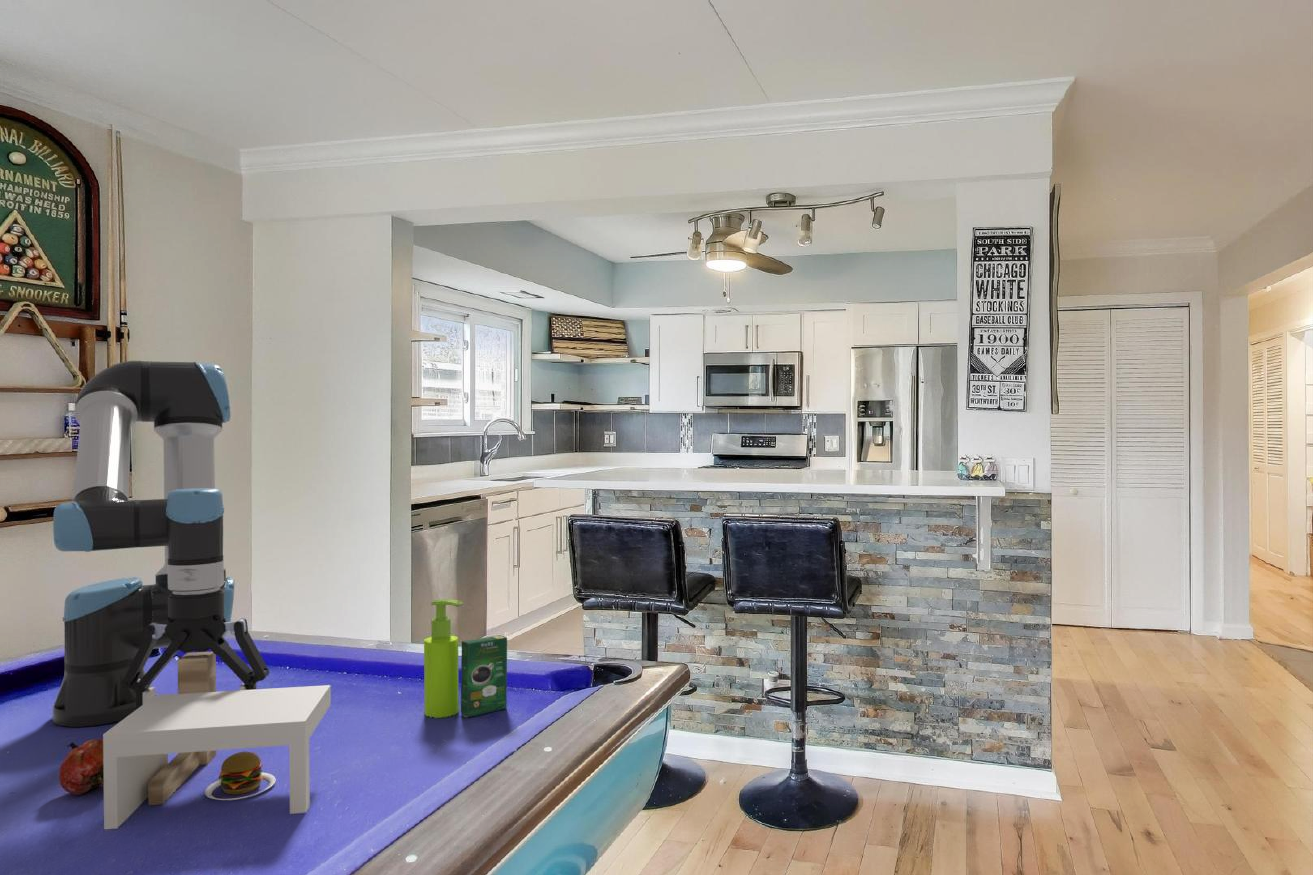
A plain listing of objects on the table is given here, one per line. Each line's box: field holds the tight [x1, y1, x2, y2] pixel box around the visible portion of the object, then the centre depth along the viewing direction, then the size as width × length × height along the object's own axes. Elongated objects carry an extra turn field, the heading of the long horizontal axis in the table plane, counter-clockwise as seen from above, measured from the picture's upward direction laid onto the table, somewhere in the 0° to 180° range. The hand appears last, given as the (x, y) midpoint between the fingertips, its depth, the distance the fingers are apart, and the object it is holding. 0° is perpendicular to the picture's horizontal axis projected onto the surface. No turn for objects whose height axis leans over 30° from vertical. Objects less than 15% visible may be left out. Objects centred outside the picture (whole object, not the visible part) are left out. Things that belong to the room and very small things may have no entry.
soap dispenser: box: [423, 598, 465, 719], centre depth 148 cm, size 6×7×20 cm
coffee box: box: [460, 635, 508, 718], centre depth 148 cm, size 8×3×13 cm, turn 129°
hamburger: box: [204, 750, 277, 801], centre depth 117 cm, size 12×12×6 cm
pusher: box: [147, 651, 217, 806], centre depth 120 cm, size 18×4×16 cm, turn 10°
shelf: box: [102, 684, 332, 830], centre depth 115 cm, size 16×24×12 cm, turn 100°
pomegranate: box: [58, 738, 104, 796], centre depth 116 cm, size 7×7×10 cm
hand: (197, 729), depth 127 cm, fingers open, 13 cm apart
